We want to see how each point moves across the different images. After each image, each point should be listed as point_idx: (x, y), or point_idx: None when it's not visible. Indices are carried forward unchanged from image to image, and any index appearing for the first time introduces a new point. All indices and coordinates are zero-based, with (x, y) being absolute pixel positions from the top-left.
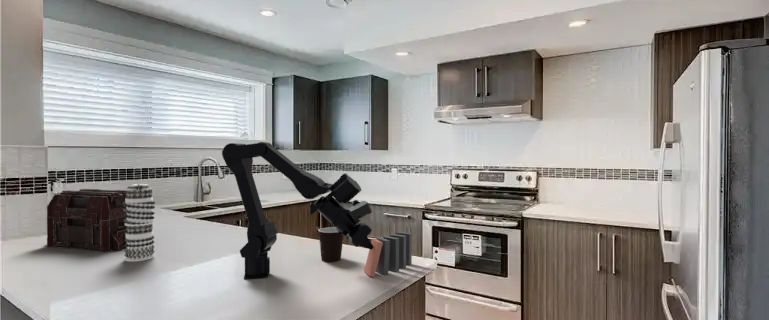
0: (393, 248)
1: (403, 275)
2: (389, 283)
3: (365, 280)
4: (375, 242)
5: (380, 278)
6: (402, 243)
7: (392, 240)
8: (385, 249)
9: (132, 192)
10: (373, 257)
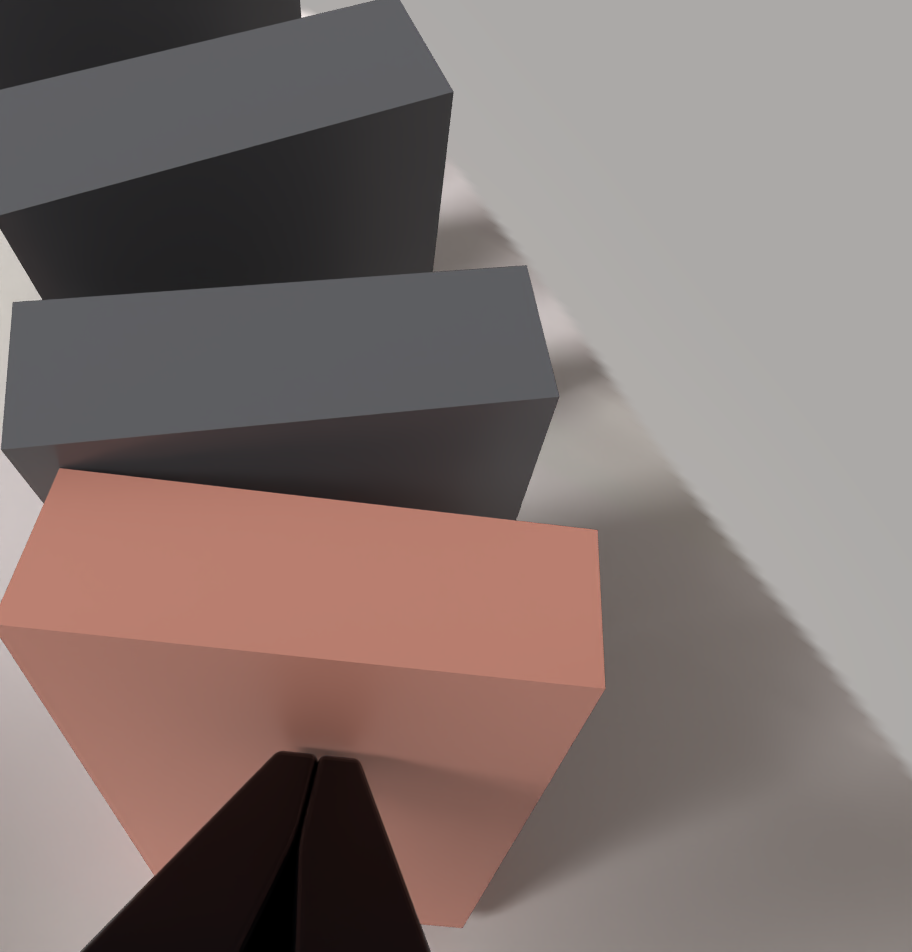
0: (378, 274)
1: (571, 434)
2: (804, 750)
3: None
4: (403, 692)
5: (566, 774)
6: (276, 15)
7: (348, 159)
8: (519, 502)
9: None
10: (485, 840)
